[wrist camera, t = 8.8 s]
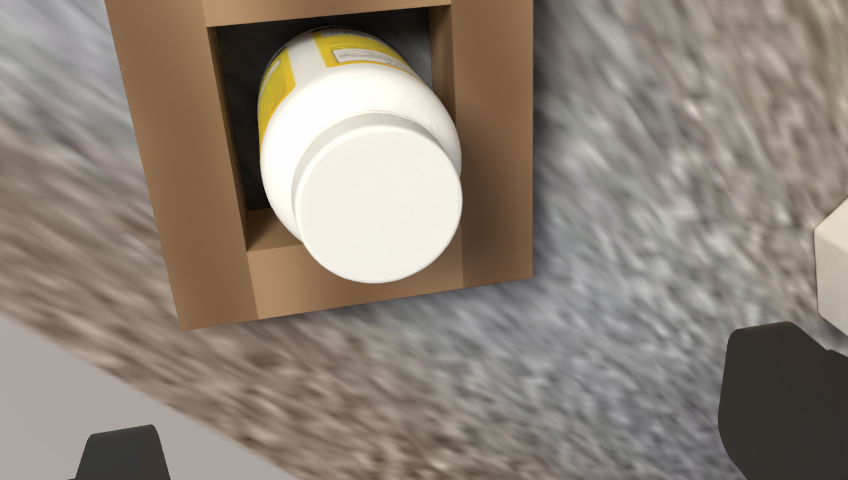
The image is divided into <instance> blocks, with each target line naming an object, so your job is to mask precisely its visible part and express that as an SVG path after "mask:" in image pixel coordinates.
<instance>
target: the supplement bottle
mask: <svg viewBox="0 0 848 480" xmlns="http://www.w3.org/2000/svg"><path fill="white" fill-rule="evenodd" d="M257 108H258V125H259V144H260V166H261V175H262V180H263V185H264V189H265V192H266V195H267V198H268V200H269V202H270V205H271V207H272V208H273V210H274V212H275V214H276V215H277V217H278V218H279V219H280V221H281V222H282V223H283V224H284V226H285V227H286V228H287V229H288V230H289V231H290V232H291V233H292V234H293V235H294V236H295V237H296V238H297V239H299V240H300V241H302V242H303V244H304V245H305V247H306V249H307V250H308V251H309V253H310V254H311V255H312V256H313V257H314V259H315V260H316V261H318V262H319V263H320V264H321V265H322V266H323V267H325V268H326V269H328V270H329V271H331V272H332V273H334V274H336V275H338V276H340V277H343V278H345V279H349V280H352V281H357V282H363V283H385V282H391V281H396V280H399V279H403V278H406V277H408V276H411V275H413V274H415V273H417V272H418V271H420V270H422V269H424V268H425V267H427V266H428V265H429V264H431V263H432V262H433V261H434V260H435V259H436V258H437V257H439V256H440V255H441V253H442V252H443V251H444V250H445V248H446V247H447V246H448V244H449V243H450V241H451V239H452V238H453V236H454V234H455V232H456V230H457V227H458V224H459V221H460V217H461V213H462V203H463V197H462V188H461V183H460V173H461V148H460V142H459V138H458V134H457V131H456V128H455V125H454V123H453V121H452V119H451V117H450V115H449V114H448V112H447V110H446V109H445V107H444V106H443V104H442V103H441V101H440V100H439V98H438V97H437V96H436V95H435V94H434V92H433V91H432V90H431V89H430V88H429V87H428V86H427V85H426V84H425V83H424V82H423V81H422V79H421V78H420V77H419V76H418V75H417V74H416V73H415V72H414V70H413V69H412V68H411V67H410V66H409V65H408V64H407V63H406V62H405V61H404V59H403V58H402V57H401V56H400V55H399V54H398V53H397V52H396V51H395V50H394V49H393V48H392V47H391V46H390V45H389V44H388V43H386V42H385V41H384V40H382V39H380V38H379V37H377V36H376V35H374V34H372V33H369V32H367V31H365V30H362V29H359V28H355V27H351V26H343V25H329V26H321V27H317V28H313V29H311V30H308V31H305V32H303V33H301V34H299V35H297V36H295V37H294V38H292V39H291V40H289V41H288V42H287V43H286V44H284V45H283V46H282V47H281V48H280V49H279V50H278V51H277V53H276V54H275V55H274V56H273V58H272V59H271V61H270V62H269V64H268V65H267V67H266V69H265V71H264V74H263V76H262V79H261V82H260V87H259V92H258V103H257Z"/></svg>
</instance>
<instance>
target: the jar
mask: <svg viewBox="0 0 848 480" xmlns="http://www.w3.org/2000/svg"><path fill="white" fill-rule="evenodd" d="M814 245H815V262H816V280H817V299H818V313H819V314H820V316H822V317H823V318H824V319H826V320H827V321H828V322H830V323H831V324H832V325H834V326H835V327H836V328H838V329H839V330H840V331H842V332H843V333H844V334H845V335H847V336H848V198H847V199H846V200H845V201H844V202H842V203H841V204H840V205H839V206H838V207H837V208H836V209H835V210H834V211H833V212H832V213H831V214H830V215H829V216H828V217H826V218H825V219H824V220H823V221H822V222H821V223H820V224H819V225H818V226H817V227H816V228H815V229H814Z"/></svg>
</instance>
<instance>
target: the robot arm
mask: <svg viewBox="0 0 848 480" xmlns="http://www.w3.org/2000/svg"><path fill="white" fill-rule="evenodd" d="M718 426H719V432H720V436H721V440H722V442H723V445H724V447H725V450H726V452H727V453H728V455H729V457H730V458H731V460H732V461H733V462H734V464H735V465H736V466H737V467H738V468H739V470H740V471H741V472H742V473H743V475H744V476H745V477H746V478H747V480H848V357H846V356H844V355H842V354H840V353H837V352H835V351H833V350H826V349H825V348H823V347H822V346H821V345H820V344H819V343H817V342H816V341H815V340H814V339H812V338H811V337H810V336H809V335H808V334H806V333H805V332H804V331H803V330H802V329H800V328H799V327H798V326H796V325H795V324H793V323H791V322H787V321H785V322H778V323H772V324H766V325H760V326H754V327H748V328H742V329H737V330H735V331H734V332H733V333H732V334H731V335H730V337H729V340H728V345H727V352H726V359H725V367H724V374H723V382H722V389H721V396H720V404H719V411H718ZM69 480H171V479H170V476H169V472H168V468H167V465H166V461H165V458H164V454H163V450H162V446H161V442H160V439H159V435H158V433H157V431H156V429H155V427H154V426H153V425H145V426H139V427H133V428H127V429H121V430H115V431H109V432H103V433H96V434H92V435H91V436H90V437H89V438H88V440H87V443H86V446H85V449H84V452H83V455H82V458H81V462H80V465H79V468H78V471H77V474H76V477H75V479H69Z"/></svg>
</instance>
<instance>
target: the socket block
mask: <svg viewBox="0 0 848 480" xmlns="http://www.w3.org/2000/svg"><path fill="white" fill-rule="evenodd" d="M104 1H105V5H106V10H107V14H108V18H109V23H110V27H111V31H112V35H113V40H114V44H115V48H116V53H117V57H118V61H119V66H120V70H121V74H122V78H123V83H124V87H125V91H126V96H127V100H128V104H129V109H130V113H131V117H132V121H133V126H134V130H135V134H136V139H137V143H138V147H139V152H140V156H141V160H142V164H143V169H144V173H145V177H146V182H147V186H148V190H149V195H150V199H151V203H152V207H153V212H154V216H155V220H156V225H157V229H158V233H159V238H160V242H161V246H162V251H163V255H164V259H165V263H166V268H167V272H168V276H169V281H170V285H171V289H172V294H173V298H174V302H175V306H176V311H177V315H178V319H179V324H180V328H181V331H187V330H193V329H200V328H206V327H213V326H220V325H226V324H233V323H239V322H246V321H252V320H259V319H265V318H272V317H279V316H285V315H292V314H298V313H305V312H311V311H318V310H324V309H331V308H338V307H344V306H351V305H357V304H364V303H370V302H377V301H383V300H390V299H397V298H403V297H410V296H416V295H423V294H429V293H436V292H442V291H449V290H456V289H462V288H469V287H475V286H482V285H488V284H495V283H501V282H508V281H515V280H521V279H528V278H533V0H104ZM427 6H428V15H429V33H430V51H431V69H432V86H433V92H434V94H435V95H436V96H437V97H438V98H439V100H440V101H441V103H442V104H443V106H444V107H445V109H446V110H447V112H448V114H449V115H450V117H451V119H452V121H453V123H454V125H455V128H456V131H457V134H458V138H459V142H460V148H461V173H460V183H461V188H462V197H463V203H462V213H461V217H460V221H459V224H458V227H457V230H456V232H455V234H454V236H453V238H452V239H451V241H450V243H449V244H448V246H447V247H446V248H445V250H444V251H443V252H442V253H441V255H440V256H439V257H437V258H436V259H435V260H434V261H433V262H432V263H431V264H429V265H428V266H427V267H425V268H424V269H422V270H420V271H418V272H417V273H415V274H413V275H411V276H408V277H406V278H403V279H399V280H396V281H391V282H385V283H363V282H357V281H352V280H349V279H345V278H343V277H340V276H338V275H336V274H334V273H332V272H331V271H329V270H328V269H326V268H325V267H323V266H322V265H321V264H320V263H319V262H318V261H316V260H315V259H314V257H313V256H312V255H311V254H310V253H309V251H308V250H307V249H306V247H305V245H304V244H303V242H302V241H300V240H299V239H297V238H296V237H295V236H294V235H293V234H292V233H291V232H290V231H289V230H288V229H287V228H286V227H285V226H284V224H283V223H282V222H281V221H280V219H279V218H278V217H277V215H276V214H275V212H274V210H273V208H264V209H256V210H249V211H248V210H247V204H246V198H245V193H244V187H243V181H242V175H241V170H240V164H239V158H238V152H237V147H236V141H235V135H234V129H233V124H232V118H231V112H230V107H229V101H228V95H227V89H226V84H225V78H224V72H223V66H222V61H221V55H220V49H219V43H218V38H217V32H216V26H223V25H233V24H244V23H255V22H266V21H276V20H287V19H298V18H309V17H319V16H330V15H341V14H352V13H362V12H373V11H384V10H394V9H405V8H416V7H427Z"/></svg>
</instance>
